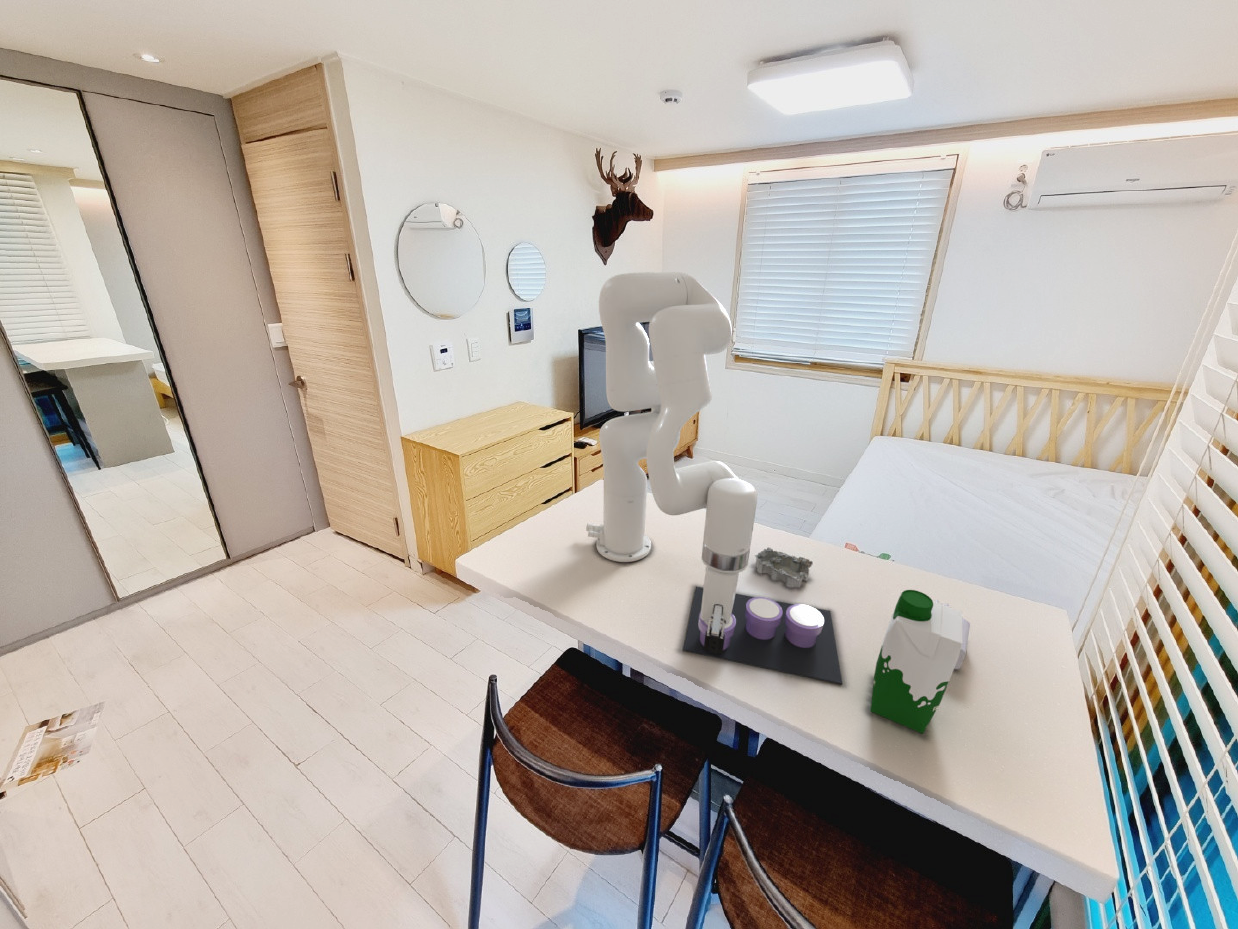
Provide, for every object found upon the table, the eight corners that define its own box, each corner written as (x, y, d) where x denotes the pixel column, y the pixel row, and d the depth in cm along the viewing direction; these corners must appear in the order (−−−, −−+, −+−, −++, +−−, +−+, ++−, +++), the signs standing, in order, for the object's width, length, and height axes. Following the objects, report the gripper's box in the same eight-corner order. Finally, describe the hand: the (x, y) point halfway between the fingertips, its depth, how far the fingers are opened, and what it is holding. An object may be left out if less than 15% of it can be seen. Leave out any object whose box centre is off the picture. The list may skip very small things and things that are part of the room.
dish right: (782, 645, 88) (786, 624, 86) (781, 621, 94) (785, 600, 92) (820, 653, 87) (826, 631, 85) (817, 628, 93) (822, 607, 91)
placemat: (682, 650, 87) (682, 649, 87) (695, 587, 103) (696, 586, 103) (842, 684, 81) (842, 683, 81) (830, 612, 97) (830, 610, 97)
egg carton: (812, 577, 107) (816, 562, 105) (794, 593, 102) (797, 576, 101) (768, 555, 114) (771, 540, 112) (749, 568, 109) (752, 553, 108)
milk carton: (871, 674, 83) (901, 576, 75) (933, 699, 79) (973, 598, 71) (862, 713, 77) (895, 610, 68) (930, 742, 72) (974, 636, 64)
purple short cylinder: (694, 648, 87) (696, 627, 85) (698, 624, 93) (701, 603, 91) (731, 656, 86) (735, 634, 84) (733, 631, 92) (737, 609, 90)
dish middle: (741, 637, 90) (745, 616, 88) (743, 614, 96) (746, 593, 94) (778, 645, 89) (783, 623, 87) (778, 620, 94) (782, 600, 92)
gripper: (707, 522, 90) (699, 602, 98) (695, 580, 75) (687, 669, 82) (750, 529, 89) (738, 609, 96) (747, 589, 73) (733, 679, 81)
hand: (715, 636), depth 89 cm, fingers closed on purple short cylinder, 6 cm apart
